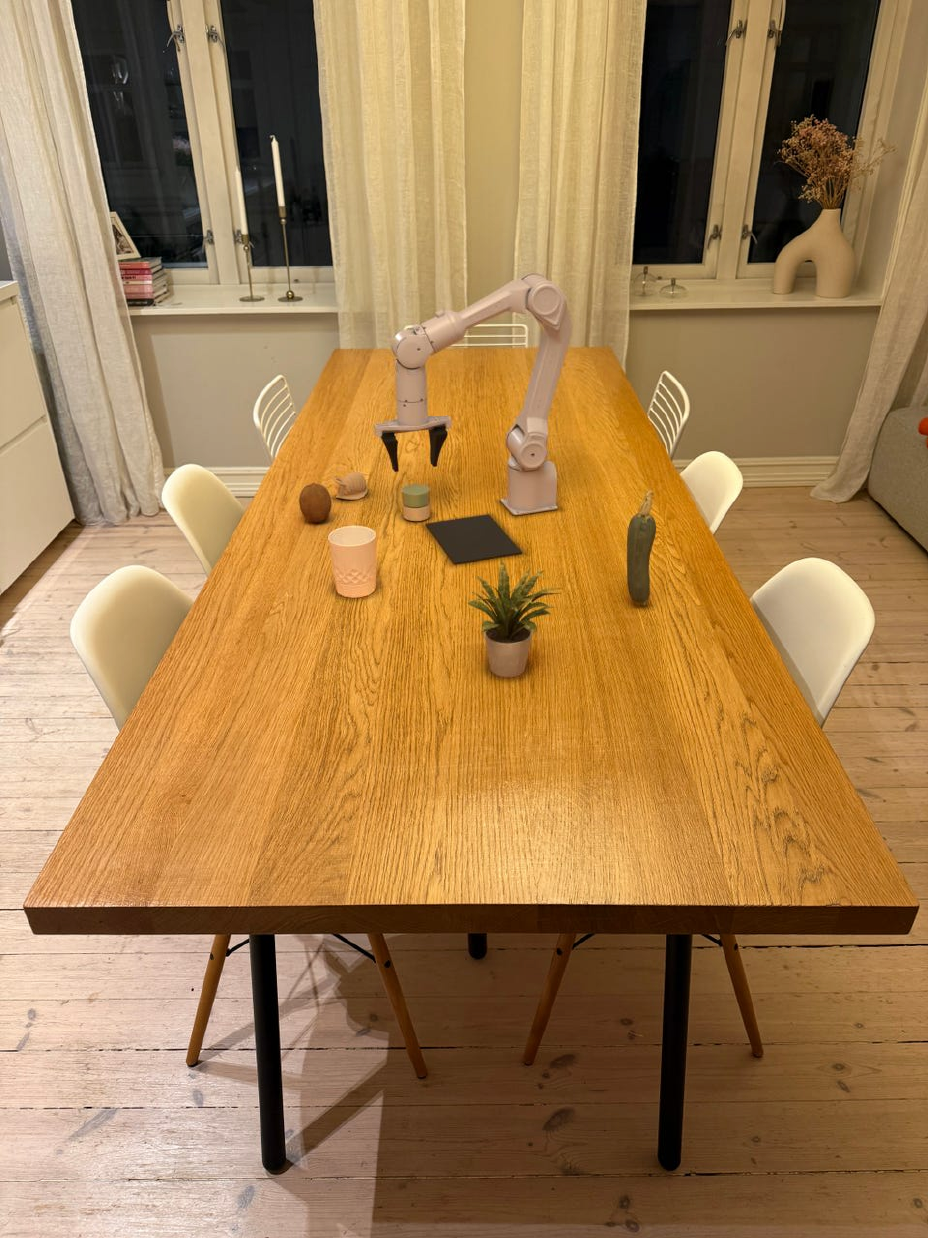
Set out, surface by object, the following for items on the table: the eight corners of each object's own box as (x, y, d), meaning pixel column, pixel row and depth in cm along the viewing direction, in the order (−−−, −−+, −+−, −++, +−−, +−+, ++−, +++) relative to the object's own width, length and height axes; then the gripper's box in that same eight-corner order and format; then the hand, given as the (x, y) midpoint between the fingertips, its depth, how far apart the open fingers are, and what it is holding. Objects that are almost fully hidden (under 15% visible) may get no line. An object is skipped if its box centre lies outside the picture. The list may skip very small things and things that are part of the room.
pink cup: (386, 581, 165) (383, 528, 160) (367, 603, 159) (364, 548, 154) (345, 575, 168) (340, 523, 163) (324, 596, 161) (319, 542, 156)
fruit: (339, 520, 188) (336, 482, 184) (314, 530, 184) (311, 492, 180) (319, 512, 192) (315, 474, 188) (294, 522, 188) (290, 483, 184)
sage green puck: (425, 496, 191) (425, 482, 189) (433, 506, 186) (432, 492, 185) (399, 499, 189) (398, 486, 188) (406, 510, 185) (405, 496, 183)
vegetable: (632, 613, 155) (641, 498, 145) (616, 602, 158) (624, 489, 148) (654, 607, 156) (665, 492, 146) (638, 596, 160) (648, 483, 150)
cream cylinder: (426, 509, 192) (425, 496, 191) (433, 520, 188) (433, 506, 186) (400, 513, 191) (399, 499, 189) (407, 524, 186) (406, 510, 185)
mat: (488, 515, 189) (488, 514, 189) (522, 553, 174) (522, 551, 174) (425, 525, 185) (425, 523, 185) (454, 564, 171) (454, 562, 170)
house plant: (524, 711, 132) (527, 607, 123) (440, 682, 138) (437, 582, 130) (571, 663, 142) (576, 564, 134) (490, 638, 148) (491, 543, 140)
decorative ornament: (373, 494, 199) (371, 470, 196) (339, 505, 195) (337, 480, 192) (362, 489, 202) (360, 465, 199) (328, 499, 197) (326, 474, 195)
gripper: (442, 388, 182) (444, 455, 189) (368, 396, 179) (372, 465, 185) (454, 398, 177) (455, 468, 183) (377, 407, 173) (381, 477, 179)
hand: (414, 467), depth 184 cm, fingers open, 7 cm apart
